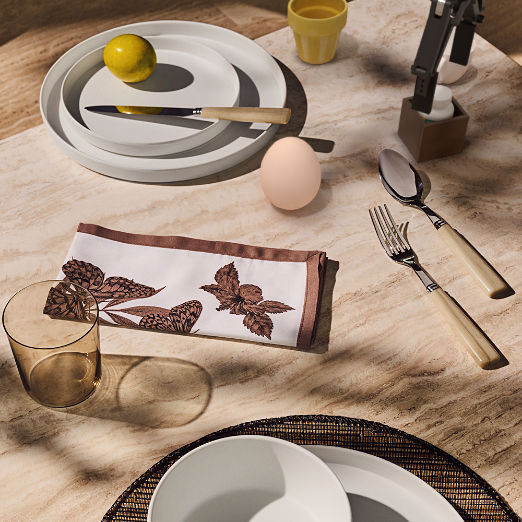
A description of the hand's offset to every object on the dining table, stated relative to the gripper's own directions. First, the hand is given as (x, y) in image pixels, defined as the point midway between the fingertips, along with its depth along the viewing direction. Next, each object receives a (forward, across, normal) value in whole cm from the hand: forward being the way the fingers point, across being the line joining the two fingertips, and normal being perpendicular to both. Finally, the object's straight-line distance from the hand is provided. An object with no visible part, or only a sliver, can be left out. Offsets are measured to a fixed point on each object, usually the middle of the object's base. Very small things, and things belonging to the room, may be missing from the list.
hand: (440, 86), depth 100 cm
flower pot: (+11, -13, -28) cm, 32 cm away
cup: (+11, -17, -5) cm, 21 cm away
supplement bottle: (+11, 0, 0) cm, 11 cm away
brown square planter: (+11, 0, 0) cm, 11 cm away
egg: (+11, +23, -12) cm, 28 cm away
